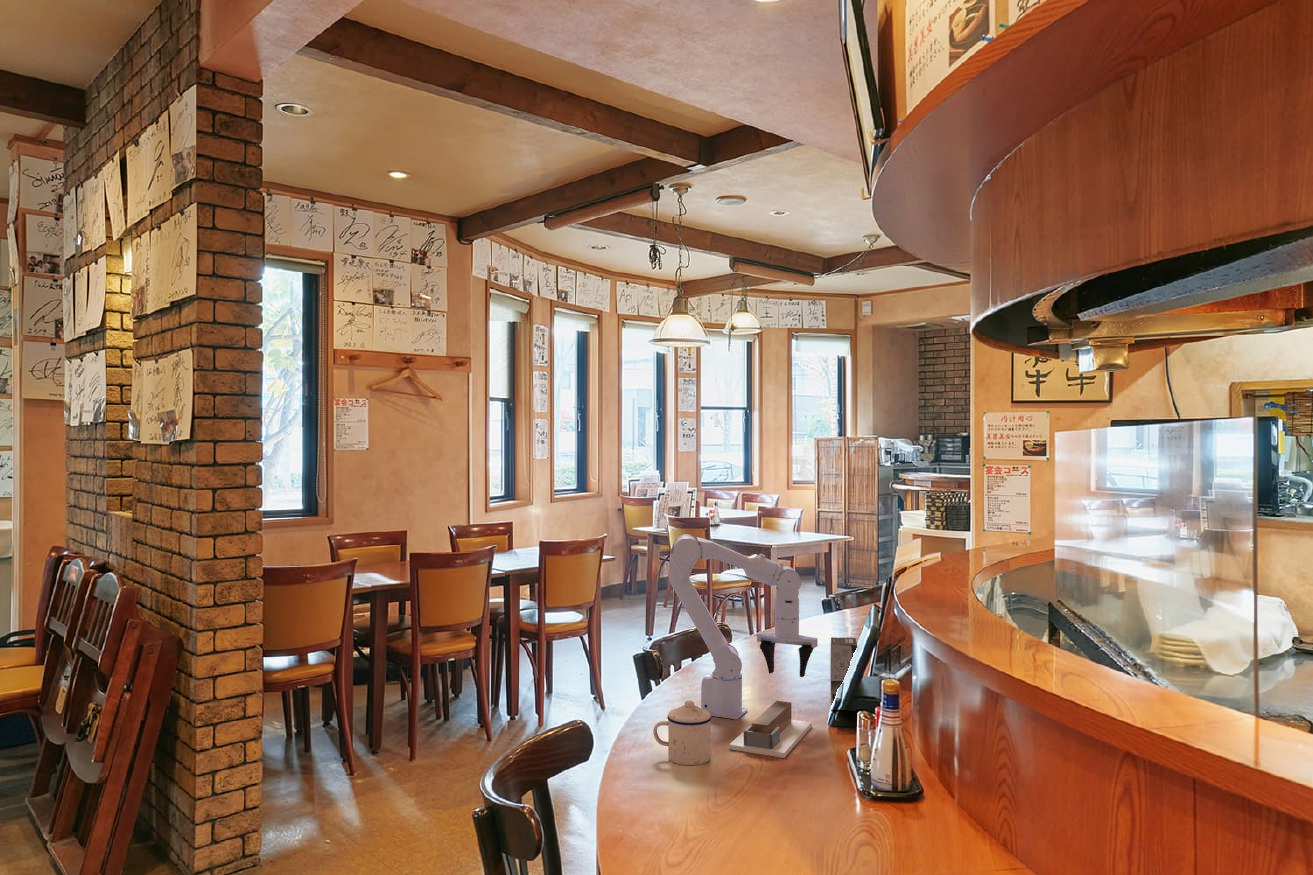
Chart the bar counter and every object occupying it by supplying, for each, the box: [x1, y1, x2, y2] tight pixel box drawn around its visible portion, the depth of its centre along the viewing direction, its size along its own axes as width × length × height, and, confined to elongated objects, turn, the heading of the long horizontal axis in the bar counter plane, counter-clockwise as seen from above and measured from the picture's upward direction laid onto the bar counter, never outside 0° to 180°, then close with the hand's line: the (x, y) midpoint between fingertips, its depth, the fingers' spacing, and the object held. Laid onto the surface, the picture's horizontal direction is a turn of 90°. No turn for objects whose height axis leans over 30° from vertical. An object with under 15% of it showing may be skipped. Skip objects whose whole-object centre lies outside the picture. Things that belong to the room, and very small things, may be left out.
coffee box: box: [830, 636, 858, 706], centre depth 218 cm, size 9×6×16 cm
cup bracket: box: [728, 719, 813, 759], centre depth 194 cm, size 12×22×4 cm, turn 155°
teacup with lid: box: [652, 700, 713, 766], centre depth 181 cm, size 12×9×12 cm
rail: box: [751, 700, 792, 734], centre depth 194 cm, size 4×18×4 cm, turn 155°
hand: (786, 674), depth 211 cm, fingers open, 7 cm apart
